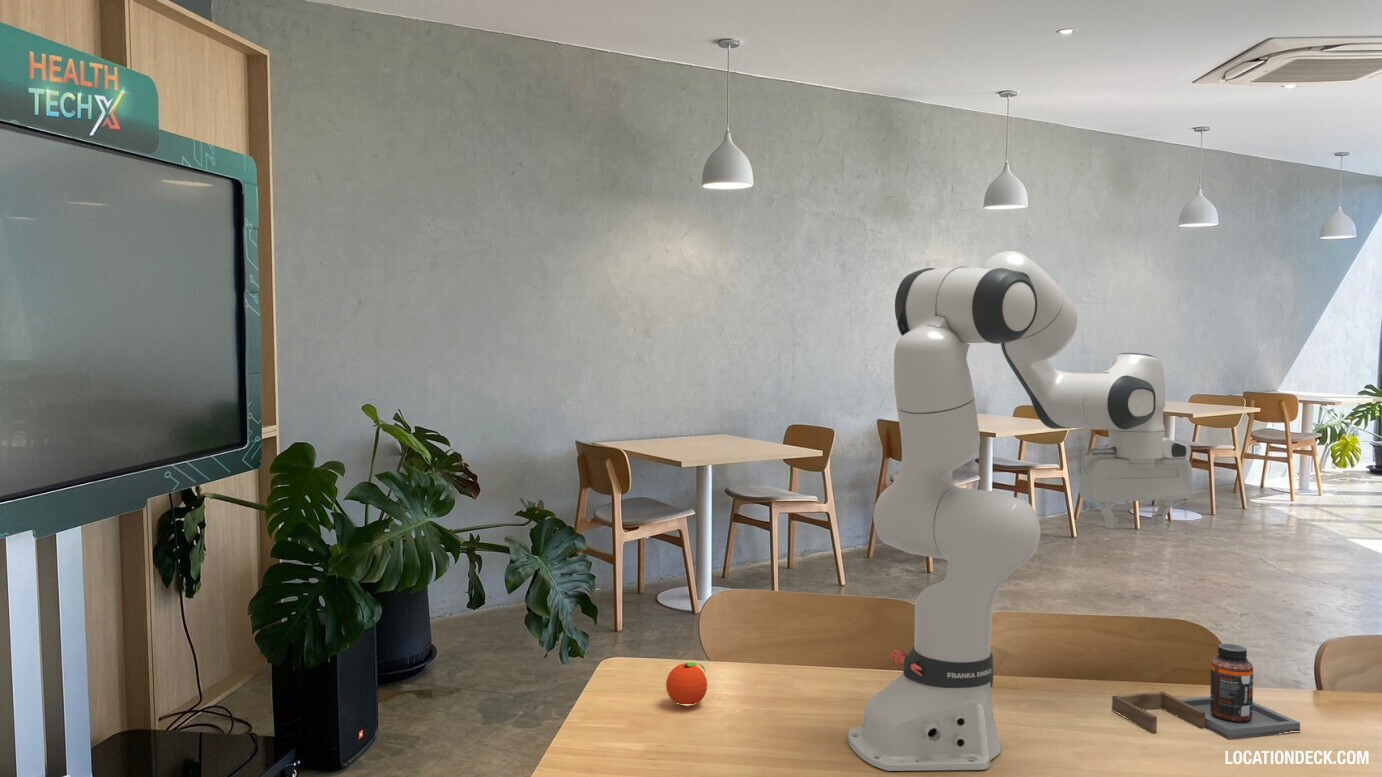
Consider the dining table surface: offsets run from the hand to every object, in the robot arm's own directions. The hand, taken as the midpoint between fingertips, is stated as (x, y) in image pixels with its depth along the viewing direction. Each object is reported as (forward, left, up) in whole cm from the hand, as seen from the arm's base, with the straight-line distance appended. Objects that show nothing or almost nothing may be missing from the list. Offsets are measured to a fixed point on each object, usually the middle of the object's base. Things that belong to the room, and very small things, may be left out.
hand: (1135, 526), depth 166 cm
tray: (+7, -15, -29) cm, 33 cm away
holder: (-5, -12, -29) cm, 32 cm away
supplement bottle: (+7, -15, -29) cm, 33 cm away
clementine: (-77, +11, -29) cm, 83 cm away
